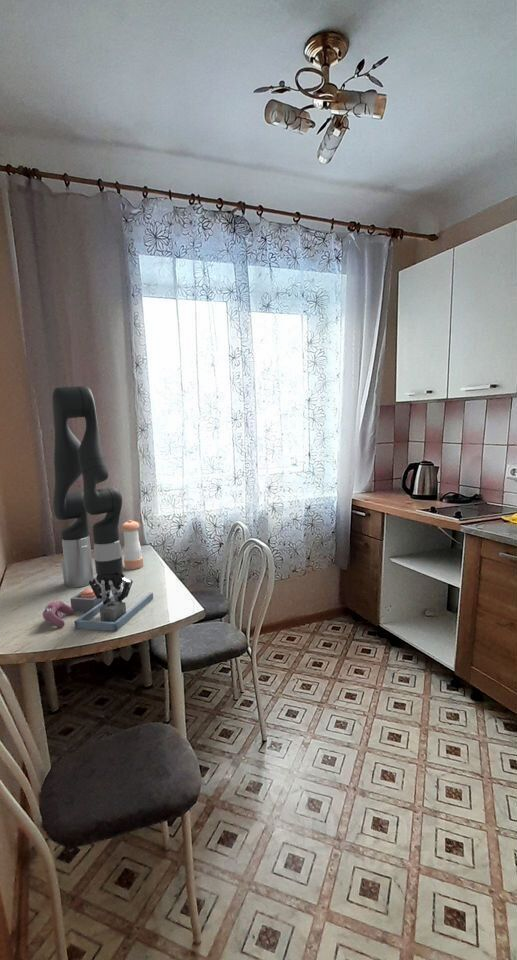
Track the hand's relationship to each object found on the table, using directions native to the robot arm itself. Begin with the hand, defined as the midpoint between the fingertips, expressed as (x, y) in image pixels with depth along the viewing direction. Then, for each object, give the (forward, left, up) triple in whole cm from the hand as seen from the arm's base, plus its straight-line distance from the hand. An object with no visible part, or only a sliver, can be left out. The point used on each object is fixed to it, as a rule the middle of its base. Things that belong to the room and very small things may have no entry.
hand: (113, 611), depth 129 cm
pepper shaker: (-16, +42, -1) cm, 45 cm away
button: (-11, +5, +1) cm, 12 cm away
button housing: (-11, +5, -1) cm, 12 cm away
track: (0, +2, -1) cm, 2 cm away
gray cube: (+3, -4, -1) cm, 5 cm away
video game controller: (-14, -6, -1) cm, 15 cm away
